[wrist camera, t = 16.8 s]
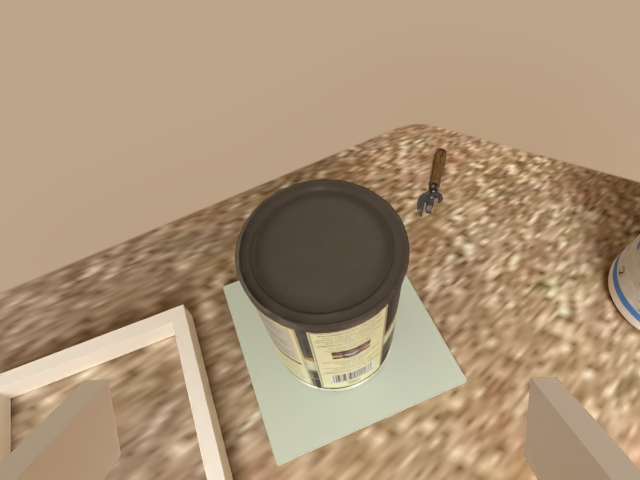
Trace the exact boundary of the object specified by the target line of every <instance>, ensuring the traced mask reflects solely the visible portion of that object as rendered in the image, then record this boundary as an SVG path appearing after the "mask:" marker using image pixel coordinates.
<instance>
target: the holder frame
mask: <svg viewBox="0 0 640 480" xmlns="http://www.w3.org/2000/svg"><path fill="white" fill-rule="evenodd" d="M174 335H175V337H176V341H177V346H178V350H179V355H180V359H181V364H182V368H183V373H184V378H185V382H186V387H187V391H188V396H189V400H190V405H191V409H192V414H193V418H194V423H195V428H196V432H197V437H198V441H199V446H200V450H201V455H202V459H203V464H204V468H205V473H206V477H207V480H233V477H232V473H231V469H230V465H229V461H228V457H227V453H226V449H225V445H224V441H223V437H222V433H221V429H220V425H219V421H218V417H217V413H216V409H215V405H214V401H213V397H212V393H211V389H210V385H209V381H208V377H207V373H206V369H205V365H204V361H203V357H202V353H201V349H200V345H199V341H198V337H197V333H196V329H195V325H194V321H193V317H192V315H191V314H190V312H189V311H188V310H187V309H186V308H185V306H184V305H180V306H178V307H175V308H173V309H170V310H167V311H165V312H162V313H159V314H157V315H154V316H151V317H149V318H146V319H144V320H141V321H138V322H136V323H133V324H130V325H128V326H125V327H122V328H120V329H117V330H115V331H112V332H109V333H107V334H104V335H101V336H99V337H96V338H93V339H91V340H88V341H86V342H83V343H80V344H78V345H75V346H72V347H70V348H67V349H64V350H62V351H59V352H56V353H54V354H51V355H49V356H46V357H43V358H41V359H38V360H35V361H33V362H30V363H27V364H25V365H22V366H20V367H17V368H14V369H12V370H9V371H6V372H4V373H1V374H0V463H1V462H2V461H3V460H4V459H5V458H6V457H7V456H8V455H9V454H10V453H11V398H14V397H16V396H19V395H22V394H24V393H27V392H29V391H32V390H34V389H37V388H40V387H42V386H45V385H47V384H50V383H52V382H55V381H58V380H60V379H63V378H65V377H68V376H71V375H73V374H76V373H78V372H81V371H83V370H86V369H89V368H91V367H94V366H96V365H99V364H101V363H104V362H107V361H109V360H112V359H114V358H117V357H119V356H122V355H125V354H127V353H130V352H132V351H135V350H138V349H140V348H143V347H145V346H148V345H150V344H153V343H156V342H158V341H161V340H163V339H166V338H168V337H171V336H174Z"/></svg>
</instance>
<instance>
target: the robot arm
mask: <svg viewBox="0 0 640 480" xmlns="http://www.w3.org/2000/svg"><path fill="white" fill-rule="evenodd" d="M120 455H121V453H120V447H119V440H118V434H117V428H116V422H115V416H114V410H113V404H112V398H111V391H110V385H109V380H99V381H84V382H83V383H82V384H81V385H80V386H79V387H78V388H77V389H76V390H75V391H74V392H73V393H72V394H71V395H70V396H69V397H68V398H67V399H66V400H65V401H64V402H63V403H62V404H61V405H60V406H59V407H57V408H56V409H55V410H54V411H53V412H52V413H51V414H50V415H49V416H48V417H47V418H46V419H45V420H44V421H43V422H42V423H41V424H40V425H39V426H38V427H37V428H36V429H35V430H34V431H33V432H32V433H31V434H30V435H29V436H28V437H27V438H25V439H24V440H23V441H22V442H21V443H20V444H19V445H18V446H17V447H16V448H15V449H14V450H13V451H12V452H11V453H10V454H9V455H8V456H7V457H6V458H5V459H4V460H3V461H2V462H1V463H0V480H104V479H105V477H106V476H107V474H108V473H109V471H110V470H111V468H112V467H113V466H114V464H115V463H116V461H117V460H118V458H119V457H120ZM524 456H525V458H526V460H527V462H528V463H529V465H530V467H531V468H532V470H533V472H534V474H535V475H536V477H537V479H538V480H640V470H639V468H638V467H637V466H636V465H635V464H634V463H633V462H632V461H631V460H630V458H629V457H628V456H627V455H626V454H625V453H624V452H623V451H622V450H621V448H620V447H619V446H618V445H617V444H616V443H615V442H614V441H613V439H612V438H611V437H610V436H609V435H608V434H607V433H606V432H605V431H604V429H603V428H602V427H601V426H600V425H599V424H598V423H597V422H596V421H595V419H594V418H593V417H592V416H591V415H590V414H589V413H588V412H587V410H586V409H585V408H584V407H583V406H582V405H581V404H580V403H579V402H578V400H577V399H576V398H575V397H574V396H573V395H572V394H571V393H570V392H569V390H568V389H567V388H566V387H565V386H564V385H563V384H562V383H561V382H560V380H559V379H558V378H557V377H531V379H530V390H529V402H528V413H527V425H526V436H525V448H524Z"/></svg>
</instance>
